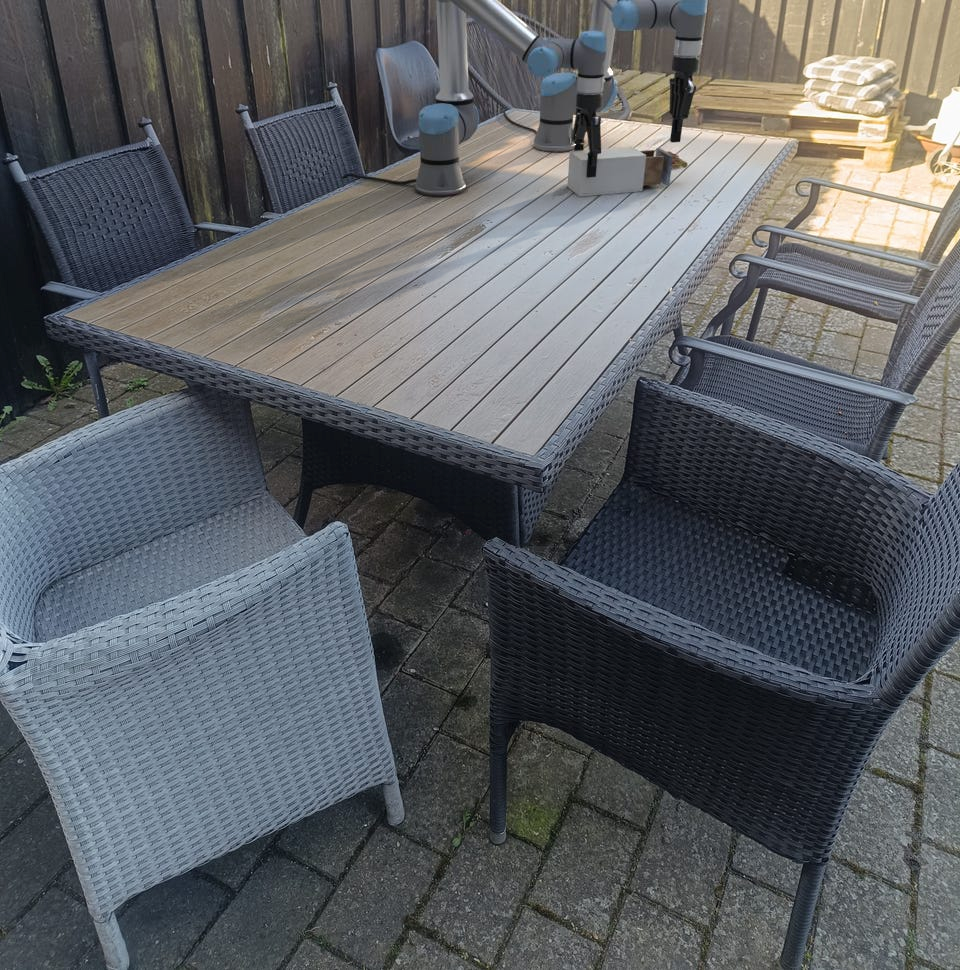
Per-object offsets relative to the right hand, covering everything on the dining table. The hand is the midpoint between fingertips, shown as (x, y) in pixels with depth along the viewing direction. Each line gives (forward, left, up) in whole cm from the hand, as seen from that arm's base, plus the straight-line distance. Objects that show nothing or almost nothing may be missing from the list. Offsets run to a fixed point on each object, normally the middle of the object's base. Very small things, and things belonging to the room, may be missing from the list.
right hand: (675, 141), depth 256 cm
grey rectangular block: (+1, -22, -13) cm, 25 cm away
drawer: (0, -9, -12) cm, 15 cm away
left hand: (+1, -29, -7) cm, 30 cm away
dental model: (-19, +8, -13) cm, 24 cm away
